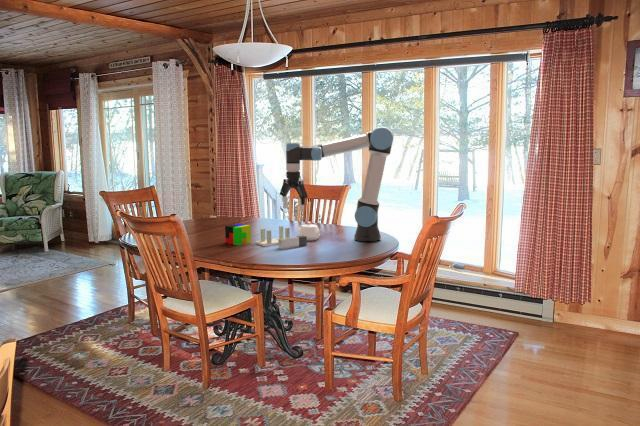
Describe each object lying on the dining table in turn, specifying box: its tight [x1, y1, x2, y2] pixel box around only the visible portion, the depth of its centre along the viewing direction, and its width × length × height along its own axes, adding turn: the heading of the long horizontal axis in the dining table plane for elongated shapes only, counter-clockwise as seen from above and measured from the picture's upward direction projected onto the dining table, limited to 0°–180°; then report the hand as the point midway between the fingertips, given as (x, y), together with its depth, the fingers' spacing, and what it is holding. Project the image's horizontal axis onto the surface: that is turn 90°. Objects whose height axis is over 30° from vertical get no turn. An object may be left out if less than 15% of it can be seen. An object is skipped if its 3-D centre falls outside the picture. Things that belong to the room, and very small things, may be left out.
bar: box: [277, 235, 308, 250], centre depth 283 cm, size 4×16×5 cm, turn 126°
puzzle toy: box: [224, 223, 252, 247], centre depth 293 cm, size 10×10×10 cm
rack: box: [254, 225, 291, 248], centre depth 293 cm, size 10×20×8 cm, turn 126°
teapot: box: [297, 221, 323, 241], centre depth 302 cm, size 20×12×10 cm, turn 45°
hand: (293, 209), depth 290 cm, fingers open, 13 cm apart
